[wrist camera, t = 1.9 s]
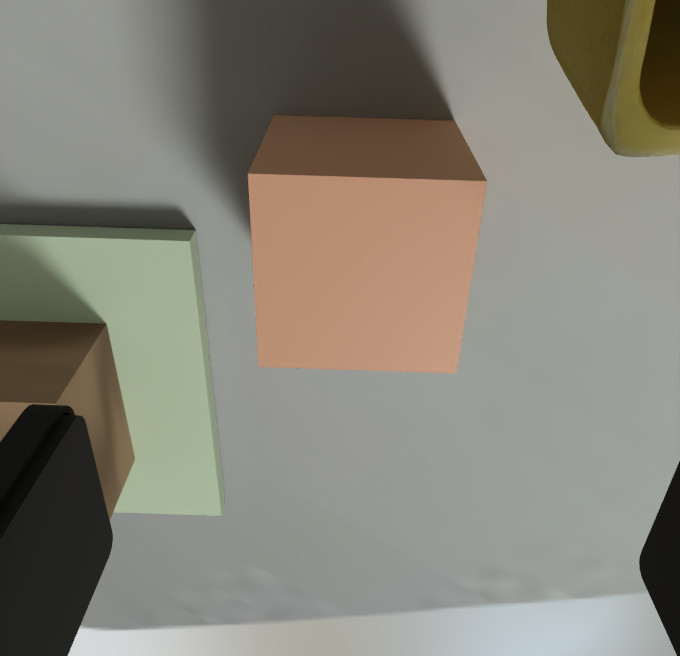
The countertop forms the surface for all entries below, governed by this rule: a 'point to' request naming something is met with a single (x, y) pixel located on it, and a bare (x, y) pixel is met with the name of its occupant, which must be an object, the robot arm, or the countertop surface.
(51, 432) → the robot arm
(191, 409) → the plate
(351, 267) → the cube
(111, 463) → the base block
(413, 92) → the countertop surface
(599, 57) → the flower pot
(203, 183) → the countertop surface
